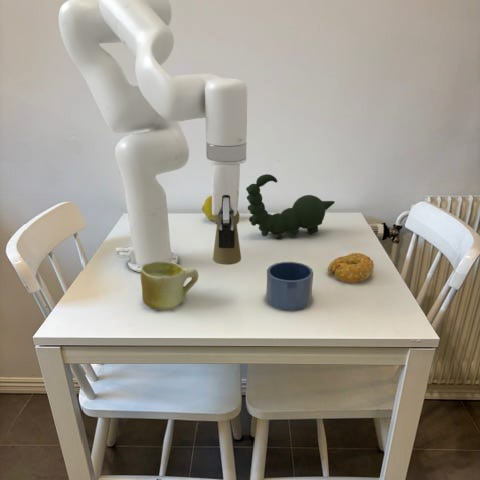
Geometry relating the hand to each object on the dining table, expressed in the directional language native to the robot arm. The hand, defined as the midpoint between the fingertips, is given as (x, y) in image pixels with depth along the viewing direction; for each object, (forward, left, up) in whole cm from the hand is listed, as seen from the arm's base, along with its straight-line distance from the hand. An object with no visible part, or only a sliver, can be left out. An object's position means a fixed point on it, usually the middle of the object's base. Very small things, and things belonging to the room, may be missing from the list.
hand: (226, 241), depth 100 cm
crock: (+13, 0, -14) cm, 19 cm away
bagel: (+29, +12, -14) cm, 35 cm away
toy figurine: (+17, +39, -14) cm, 45 cm away
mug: (-13, 0, -14) cm, 19 cm away
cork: (0, 0, -4) cm, 4 cm away
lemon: (-4, +52, -14) cm, 54 cm away
